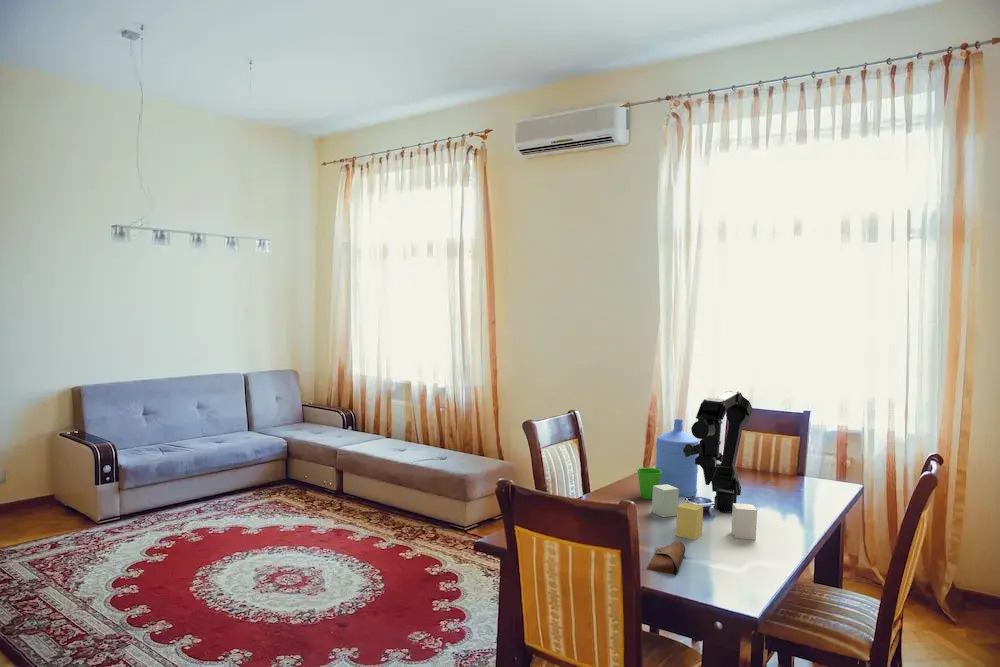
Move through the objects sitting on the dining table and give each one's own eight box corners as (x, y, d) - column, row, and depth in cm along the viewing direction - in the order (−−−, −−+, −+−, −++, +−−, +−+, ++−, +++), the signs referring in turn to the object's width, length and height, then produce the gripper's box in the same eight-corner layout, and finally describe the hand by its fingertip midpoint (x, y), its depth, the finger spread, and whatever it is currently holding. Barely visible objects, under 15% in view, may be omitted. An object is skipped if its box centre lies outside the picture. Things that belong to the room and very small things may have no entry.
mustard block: (682, 530, 213) (683, 502, 213) (701, 534, 210) (703, 505, 209) (675, 535, 208) (677, 506, 208) (695, 540, 205) (696, 510, 204)
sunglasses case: (655, 548, 200) (667, 530, 199) (675, 563, 198) (688, 546, 197) (645, 569, 183) (659, 550, 182) (667, 587, 181) (682, 568, 180)
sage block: (666, 510, 234) (667, 484, 234) (677, 515, 229) (678, 488, 228) (651, 512, 232) (653, 485, 231) (663, 517, 226) (664, 490, 226)
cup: (661, 504, 245) (662, 474, 245) (635, 502, 247) (636, 472, 246) (660, 498, 254) (661, 468, 253) (635, 495, 256) (636, 466, 255)
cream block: (731, 531, 214) (732, 503, 213) (751, 533, 213) (752, 504, 212) (735, 538, 208) (736, 508, 207) (755, 539, 207) (757, 510, 207)
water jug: (689, 501, 251) (693, 425, 250) (648, 493, 259) (651, 420, 258) (701, 492, 264) (705, 419, 263) (662, 485, 273) (665, 415, 271)
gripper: (691, 432, 239) (687, 477, 238) (680, 436, 222) (676, 484, 221) (724, 436, 234) (721, 482, 233) (716, 441, 217) (712, 490, 216)
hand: (707, 484), depth 226 cm, fingers closed
